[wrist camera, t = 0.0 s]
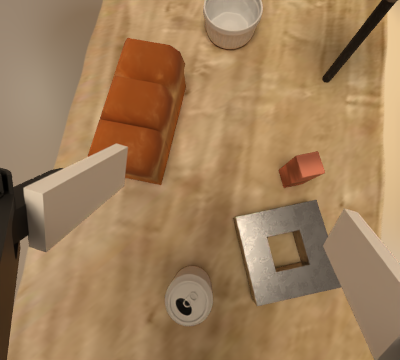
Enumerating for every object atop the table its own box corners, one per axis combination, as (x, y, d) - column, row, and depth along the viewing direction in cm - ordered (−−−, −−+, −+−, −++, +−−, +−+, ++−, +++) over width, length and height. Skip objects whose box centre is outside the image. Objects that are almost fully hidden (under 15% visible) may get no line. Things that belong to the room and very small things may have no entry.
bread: (162, 187, 51) (145, 170, 37) (107, 175, 52) (69, 154, 38) (187, 86, 56) (181, 36, 42) (137, 76, 57) (114, 24, 43)
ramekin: (264, 19, 60) (271, -8, 53) (245, 61, 57) (250, 39, 51) (215, 3, 61) (216, -25, 54) (195, 44, 59) (193, 19, 52)
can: (165, 285, 47) (152, 303, 35) (192, 257, 48) (188, 265, 36) (192, 314, 46) (188, 343, 34) (219, 284, 47) (223, 302, 35)
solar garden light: (318, 47, 58) (435, -142, 28) (362, 74, 56) (536, -97, 27) (289, 83, 56) (384, -81, 27) (334, 112, 54) (489, -29, 25)
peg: (301, 184, 51) (325, 172, 41) (283, 187, 51) (302, 177, 41) (296, 166, 52) (317, 151, 42) (278, 170, 51) (296, 155, 42)
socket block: (332, 282, 46) (343, 286, 43) (252, 299, 46) (257, 306, 42) (307, 202, 50) (316, 199, 46) (233, 218, 49) (235, 217, 46)
